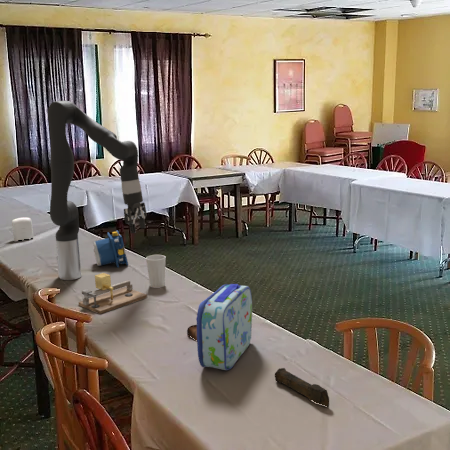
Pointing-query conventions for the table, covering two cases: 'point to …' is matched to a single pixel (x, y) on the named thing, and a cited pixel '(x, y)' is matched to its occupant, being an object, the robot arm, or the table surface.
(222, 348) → the lunch box
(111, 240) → the blue piece
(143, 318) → the table surface
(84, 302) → the board
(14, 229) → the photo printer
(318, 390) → the hand tool
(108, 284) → the sliding block
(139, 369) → the table surface
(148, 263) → the cup
